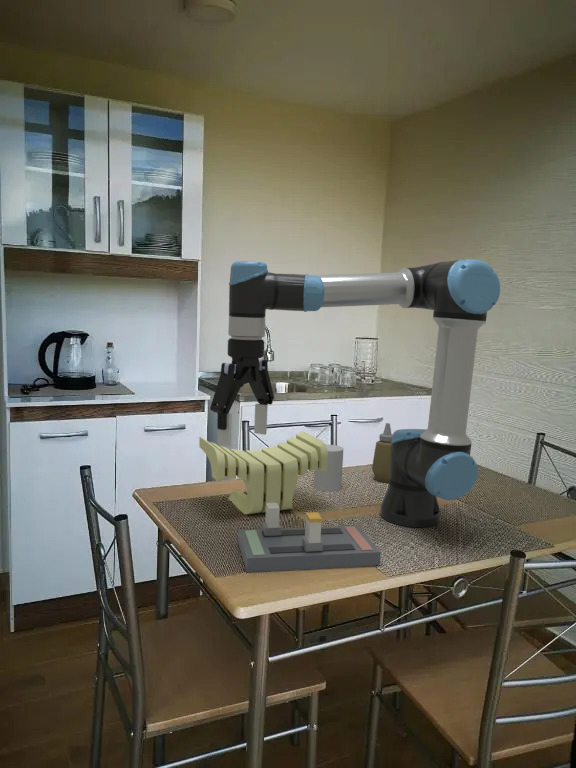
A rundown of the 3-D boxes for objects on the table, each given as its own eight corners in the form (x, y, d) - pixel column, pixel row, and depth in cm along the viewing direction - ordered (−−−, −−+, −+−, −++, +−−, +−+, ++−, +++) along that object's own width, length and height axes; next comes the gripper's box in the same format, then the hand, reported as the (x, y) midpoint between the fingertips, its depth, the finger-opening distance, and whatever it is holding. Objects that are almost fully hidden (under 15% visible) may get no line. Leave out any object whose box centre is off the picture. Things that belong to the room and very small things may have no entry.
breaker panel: (357, 537, 140) (359, 498, 139) (379, 565, 125) (382, 522, 124) (238, 542, 134) (239, 501, 133) (246, 572, 120) (248, 526, 118)
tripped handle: (318, 543, 127) (319, 512, 126) (322, 551, 124) (324, 518, 123) (301, 544, 126) (303, 512, 125) (305, 551, 123) (307, 519, 122)
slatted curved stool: (216, 522, 146) (218, 451, 144) (198, 501, 160) (199, 436, 158) (325, 509, 158) (328, 443, 156) (299, 491, 173) (302, 430, 170)
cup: (324, 481, 183) (326, 443, 181) (346, 487, 178) (348, 448, 176) (308, 487, 177) (310, 447, 175) (330, 493, 172) (332, 452, 170)
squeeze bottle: (367, 480, 186) (370, 423, 183) (377, 474, 193) (380, 419, 190) (391, 485, 182) (395, 427, 179) (401, 479, 189) (405, 423, 186)
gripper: (262, 335, 136) (259, 427, 139) (193, 338, 114) (191, 447, 117) (291, 337, 132) (287, 431, 135) (225, 341, 110) (222, 453, 113)
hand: (243, 439), depth 126 cm, fingers open, 13 cm apart
